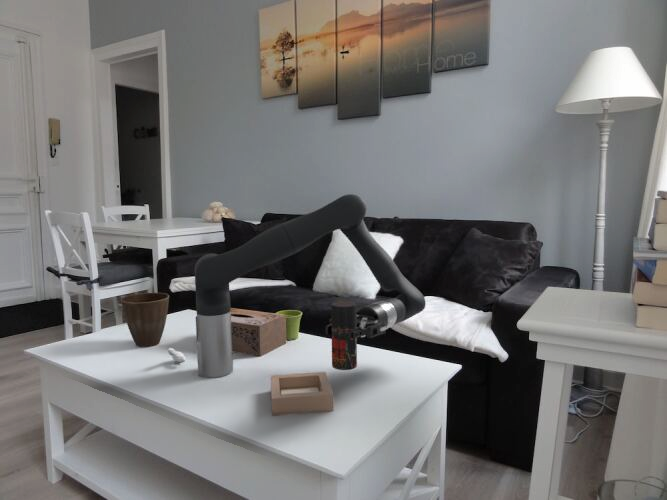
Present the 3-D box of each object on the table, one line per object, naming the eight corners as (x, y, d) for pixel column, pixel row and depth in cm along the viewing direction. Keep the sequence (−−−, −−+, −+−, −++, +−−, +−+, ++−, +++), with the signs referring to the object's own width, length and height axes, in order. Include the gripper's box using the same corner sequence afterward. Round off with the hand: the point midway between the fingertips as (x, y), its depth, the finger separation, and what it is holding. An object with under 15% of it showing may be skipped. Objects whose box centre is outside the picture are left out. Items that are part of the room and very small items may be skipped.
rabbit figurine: (190, 359, 149) (188, 355, 141) (182, 370, 147) (180, 367, 140) (173, 348, 149) (170, 344, 141) (165, 360, 147) (162, 356, 140)
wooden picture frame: (272, 415, 111) (271, 398, 110) (271, 390, 124) (270, 375, 124) (333, 410, 113) (333, 394, 112) (325, 386, 126) (325, 371, 126)
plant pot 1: (181, 341, 166) (178, 295, 164) (143, 354, 154) (140, 304, 152) (152, 335, 174) (150, 291, 172) (114, 346, 162) (111, 299, 160)
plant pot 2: (298, 342, 163) (298, 317, 162) (271, 341, 165) (271, 316, 164) (305, 334, 172) (305, 310, 171) (280, 333, 174) (279, 309, 173)
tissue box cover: (197, 346, 162) (195, 316, 161) (225, 334, 175) (224, 307, 173) (260, 357, 150) (259, 325, 149) (286, 344, 163) (285, 314, 161)
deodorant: (331, 361, 119) (330, 301, 117) (355, 360, 119) (355, 300, 117) (333, 370, 113) (332, 307, 111) (358, 369, 113) (358, 306, 112)
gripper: (353, 299, 130) (313, 313, 117) (401, 307, 122) (363, 322, 108) (353, 327, 131) (313, 343, 118) (400, 336, 123) (363, 355, 109)
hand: (338, 333), depth 113 cm, fingers closed on deodorant, 6 cm apart
